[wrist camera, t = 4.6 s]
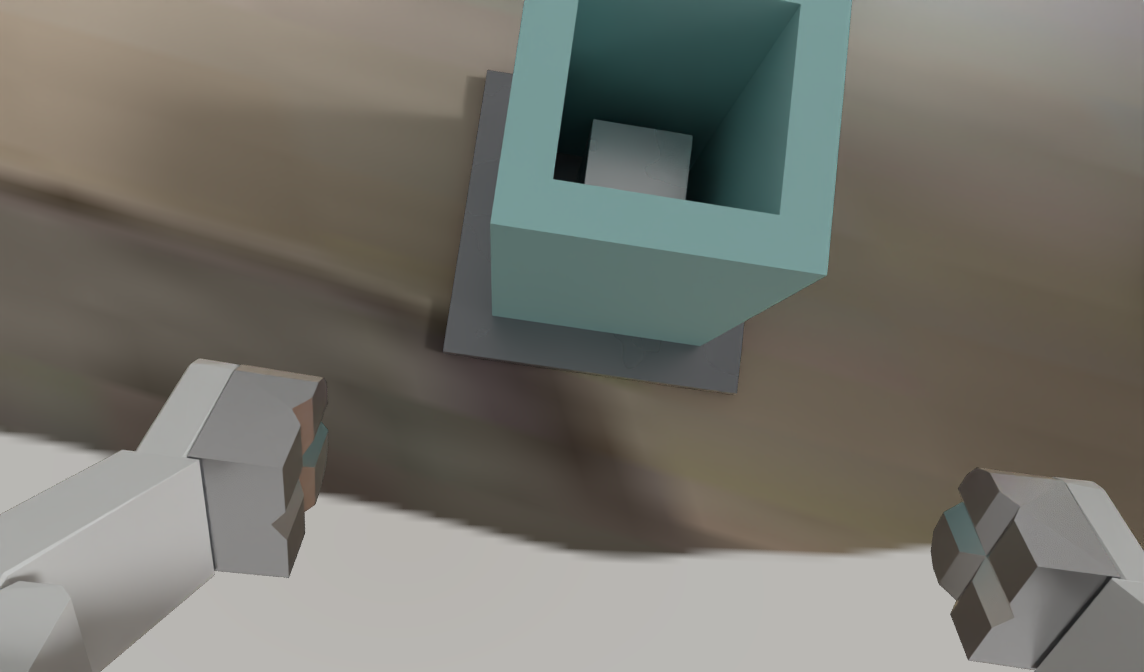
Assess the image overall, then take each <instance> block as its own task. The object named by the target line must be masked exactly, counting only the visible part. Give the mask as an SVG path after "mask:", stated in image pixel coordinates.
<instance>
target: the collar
mask: <svg viewBox="0 0 1144 672" xmlns="http://www.w3.org/2000/svg"><path fill="white" fill-rule="evenodd" d="M851 7H852V0H524V7H523V13H522V20H521V26H520V33H519V39H518V46H517V52H516V59H515V65H514V72H513V79H512V85H511V92H510V98H509V105H508V111H507V118H506V124H505V131H504V137H503V144H502V150H501V157H500V163H499V170H498V176H497V183H496V189H495V196H494V202H493V209H492V215H491V222H490V236H491V288H492V316H499V317H506V318H512V319H519V320H526V321H533V322H540V323H546V324H553V325H560V326H567V327H574V328H581V329H587V330H594V331H601V332H608V333H615V334H621V335H628V336H635V337H642V338H649V339H655V340H662V341H669V342H676V343H683V344H689V345H696V346H701V345H703V344H705V343H707V342H709V341H710V340H712V339H714V338H716V337H718V336H719V335H721V334H723V333H725V332H727V331H728V330H730V329H732V328H734V327H736V326H737V325H739V324H741V323H743V322H744V321H746V320H748V319H750V318H752V317H753V316H755V315H757V314H759V313H761V312H762V311H764V310H766V309H768V308H770V307H771V306H773V305H775V304H777V303H779V302H780V301H782V300H784V299H786V298H788V297H789V296H791V295H793V294H795V293H796V292H798V291H800V290H802V289H804V288H805V287H807V286H809V285H811V284H813V283H814V282H816V281H818V280H820V279H822V278H823V277H825V276H827V271H828V260H829V249H830V238H831V227H832V216H833V205H834V194H835V183H836V172H837V161H838V150H839V139H840V128H841V117H842V106H843V95H844V84H845V73H846V62H847V51H848V40H849V29H850V18H851ZM593 119H596V120H602V121H608V122H614V123H620V124H626V125H632V126H639V127H645V128H651V129H657V130H663V131H669V132H675V133H681V134H687V135H693V140H692V148H691V157H690V165H689V174H688V182H687V191H686V199H685V200H681V199H675V198H669V197H662V196H656V195H650V194H643V193H637V192H631V191H624V190H618V189H612V188H605V187H599V186H593V185H587V184H580V183H574V182H568V181H561V180H555V179H553V175H554V168H555V161H556V154H557V153H564V154H570V155H576V156H582V157H583V154H584V150H585V147H586V143H587V140H588V136H589V133H590V129H591V126H592V122H593Z"/></svg>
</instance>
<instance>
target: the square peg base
mask: <svg viewBox="0 0 1144 672" xmlns="http://www.w3.org/2000/svg"><path fill="white" fill-rule="evenodd" d="M512 79H513V74H509V73H503V72H497V71H491V70H487V76H486V82H485V89H484V95H483V101H482V108H481V114H480V120H479V126H478V133H477V139H476V145H475V152H474V158H473V164H472V171H471V177H470V183H469V190H468V196H467V202H466V209H465V215H464V221H463V227H462V234H461V240H460V246H459V253H458V259H457V265H456V272H455V278H454V284H453V291H452V297H451V303H450V309H449V316H448V322H447V328H446V335H445V341H444V347H443V353H445V354H452V355H459V356H466V357H473V358H480V359H487V360H494V361H501V362H508V363H515V364H521V365H528V366H535V367H542V368H549V369H556V370H563V371H570V372H577V373H584V374H591V375H598V376H605V377H612V378H619V379H626V380H633V381H640V382H647V383H654V384H661V385H668V386H675V387H682V388H689V389H696V390H703V391H710V392H717V393H724V394H731V395H733V394H737V388H738V378H739V369H740V359H741V350H742V340H743V331H744V322H743V323H741V324H739V325H737V326H736V327H734V328H732V329H730V330H728V331H727V332H725V333H723V334H721V335H719V336H718V337H716V338H714V339H712V340H710V341H709V342H707V343H705V344H703V345H701V346H696V345H689V344H683V343H676V342H669V341H662V340H655V339H649V338H642V337H635V336H628V335H621V334H615V333H608V332H601V331H594V330H587V329H581V328H574V327H567V326H560V325H553V324H546V323H540V322H533V321H526V320H519V319H512V318H506V317H499V316H492V288H491V236H490V222H491V215H492V209H493V202H494V196H495V189H496V183H497V176H498V170H499V163H500V157H501V150H502V144H503V137H504V131H505V124H506V118H507V111H508V105H509V98H510V92H511V85H512ZM692 140H693V135H687V134H681V133H675V132H669V131H663V130H657V129H651V128H645V127H639V126H632V125H626V124H620V123H614V122H608V121H602V120H596V119H593V122H592V126H591V129H590V133H589V136H588V140H587V143H586V147H585V150H584V154H583V157H582V156H576V155H570V154H564V153H557V154H556V161H555V168H554V175H553V179H555V180H561V181H568V182H574V183H580V184H587V185H593V186H599V187H605V188H612V189H618V190H624V191H631V192H637V193H643V194H650V195H656V196H662V197H669V198H675V199H681V200H685V199H686V191H687V182H688V174H689V165H690V157H691V148H692Z"/></svg>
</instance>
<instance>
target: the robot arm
mask: <svg viewBox="0 0 1144 672" xmlns="http://www.w3.org/2000/svg"><path fill="white" fill-rule="evenodd" d="M327 404H328V395H327V382H326V380H325V379H324V378H323V377H317V376H311V375H305V374H298V373H292V372H286V371H280V370H274V369H267V368H261V367H255V366H249V365H237V364H231V363H225V362H219V361H213V360H206V359H200V358H199V359H197V360H196V361H194V362H193V363H191V364H190V365H189V366H188V368H187V369H186V371H185V372H184V374H183V375H182V377H181V379H180V380H179V382H178V383H177V385H176V387H175V388H174V390H173V391H172V393H171V395H170V396H169V398H168V399H167V401H166V403H165V404H164V406H163V407H162V409H161V411H160V412H159V414H158V415H157V417H156V419H155V420H154V422H153V423H152V425H151V427H150V428H149V430H148V431H147V433H146V435H145V436H144V438H143V439H142V441H141V443H140V444H139V446H138V447H137V449H136V451H129V450H121V451H119V452H117V453H115V454H113V455H111V456H109V457H107V458H105V459H104V460H102V461H100V462H98V463H96V464H94V465H92V466H90V467H88V468H87V469H85V470H83V471H81V472H79V473H78V474H75V475H73V476H72V477H70V478H68V479H66V480H64V481H62V482H60V483H58V484H56V485H55V486H53V487H51V488H49V489H47V490H45V491H43V492H41V493H40V494H38V495H36V496H34V497H32V498H30V499H28V500H26V501H24V502H23V503H21V504H19V505H17V506H15V507H13V508H11V509H9V510H7V511H5V512H4V513H2V514H0V672H100V671H102V670H103V669H104V668H105V667H106V666H107V665H109V664H110V663H111V662H112V661H113V660H115V659H116V658H117V657H118V656H119V655H121V654H122V653H123V652H124V651H125V650H126V649H128V648H129V647H130V646H131V645H132V644H134V643H135V642H136V641H137V640H138V639H140V638H141V637H142V636H143V635H144V634H145V633H147V631H149V630H150V629H151V628H152V627H154V626H155V625H156V624H157V623H158V622H160V621H161V620H162V619H163V618H164V617H166V616H167V615H168V614H169V613H170V612H171V611H173V610H174V609H175V608H176V607H177V606H179V605H180V604H181V603H182V602H183V601H184V600H186V599H187V598H188V597H189V596H190V595H191V594H193V593H194V592H195V591H196V590H197V589H199V588H200V587H201V586H202V585H203V584H205V583H206V582H207V581H208V580H209V579H210V578H212V577H213V576H214V571H222V572H233V573H244V574H255V575H264V576H275V577H286V578H289V576H290V573H291V570H292V568H293V565H294V562H295V559H296V557H297V554H298V551H299V549H300V546H301V543H302V540H303V538H304V535H305V513H304V512H305V511H307V510H308V509H310V508H311V507H312V506H314V505H315V504H316V501H317V498H318V495H319V492H320V489H321V486H322V482H323V477H324V472H325V468H326V463H327V453H328V429H327V428H326V427H325V426H324V425H323V423H322V422H321V420H322V417H323V415H324V412H325V409H326V407H327ZM958 490H959V493H960V496H961V499H962V502H961V503H959V504H958V505H956V506H954V507H952V508H950V509H949V510H947V511H945V512H943V514H942V516H941V518H940V520H939V522H938V524H937V525H936V527H935V529H934V532H933V539H932V546H931V556H932V563H933V569H934V572H935V574H936V577H937V580H938V583H939V585H940V586H942V587H943V588H944V589H945V590H946V591H947V592H948V593H949V594H950V595H951V596H952V597H953V598H954V599H955V600H956V602H955V605H954V607H953V609H952V611H951V614H950V615H951V617H952V620H953V622H954V625H955V627H956V630H957V633H958V635H959V638H960V640H961V643H962V645H963V648H964V651H965V653H966V656H967V658H968V660H969V661H976V662H983V663H991V664H997V665H1003V666H1010V667H1016V668H1024V669H1030V670H1035V671H1034V672H1144V551H1143V549H1142V548H1141V546H1140V544H1139V543H1138V541H1137V540H1136V538H1135V537H1134V535H1133V534H1132V532H1131V530H1130V529H1129V527H1128V526H1127V524H1126V523H1125V521H1124V519H1123V518H1122V516H1121V515H1120V513H1119V512H1118V510H1117V509H1116V507H1115V505H1114V504H1113V502H1112V501H1111V499H1110V498H1109V496H1108V495H1107V493H1106V491H1105V490H1104V489H1103V488H1102V487H1100V486H1099V485H1097V484H1096V483H1095V482H1093V481H1085V480H1077V479H1068V478H1060V477H1052V478H1051V477H1046V476H1039V475H1031V474H1023V473H1016V472H1008V471H1000V470H993V469H985V468H976V469H974V470H973V471H971V472H970V473H968V474H967V475H966V477H965V478H964V480H963V481H962V483H961V485H960V486H959V488H958Z"/></svg>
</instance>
